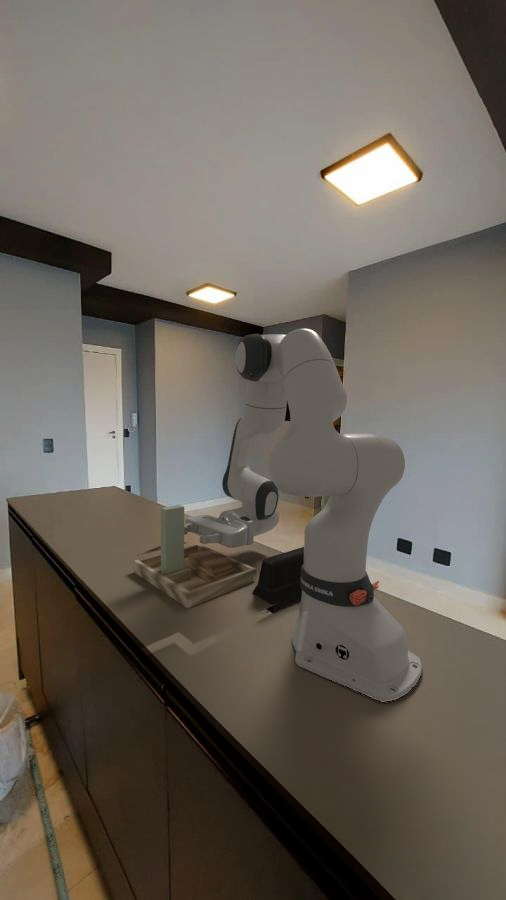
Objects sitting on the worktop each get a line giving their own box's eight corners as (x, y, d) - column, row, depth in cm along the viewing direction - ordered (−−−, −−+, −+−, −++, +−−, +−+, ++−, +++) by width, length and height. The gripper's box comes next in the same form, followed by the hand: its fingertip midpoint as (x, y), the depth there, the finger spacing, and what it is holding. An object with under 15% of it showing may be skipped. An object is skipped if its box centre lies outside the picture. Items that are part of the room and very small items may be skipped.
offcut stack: (238, 578, 93) (238, 561, 92) (215, 586, 88) (215, 569, 88) (204, 561, 103) (204, 546, 102) (182, 568, 98) (182, 552, 98)
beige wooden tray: (255, 586, 92) (256, 568, 91) (187, 614, 78) (187, 594, 77) (198, 558, 109) (198, 543, 109) (134, 577, 95) (134, 560, 95)
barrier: (273, 615, 79) (274, 569, 78) (247, 599, 86) (248, 557, 85) (341, 584, 94) (342, 546, 93) (314, 573, 101) (316, 537, 100)
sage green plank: (183, 578, 92) (184, 506, 91) (166, 584, 89) (166, 509, 87) (178, 575, 94) (178, 504, 92) (160, 580, 90) (160, 507, 89)
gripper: (209, 507, 111) (168, 515, 101) (257, 522, 96) (215, 532, 86) (209, 528, 111) (168, 537, 102) (257, 546, 96) (214, 559, 87)
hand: (190, 535), depth 94 cm, fingers open, 8 cm apart
